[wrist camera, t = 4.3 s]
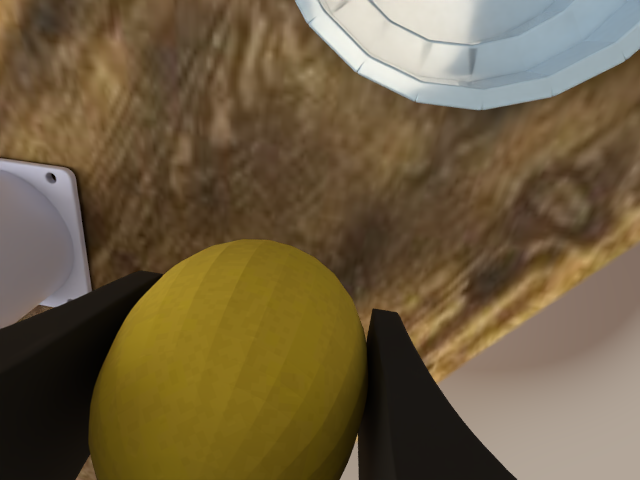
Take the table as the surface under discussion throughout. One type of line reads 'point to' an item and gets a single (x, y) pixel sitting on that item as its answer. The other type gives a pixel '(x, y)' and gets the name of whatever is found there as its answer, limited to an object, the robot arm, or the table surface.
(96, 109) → the table surface
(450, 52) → the bowl
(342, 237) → the table surface
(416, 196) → the table surface
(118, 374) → the lemon
